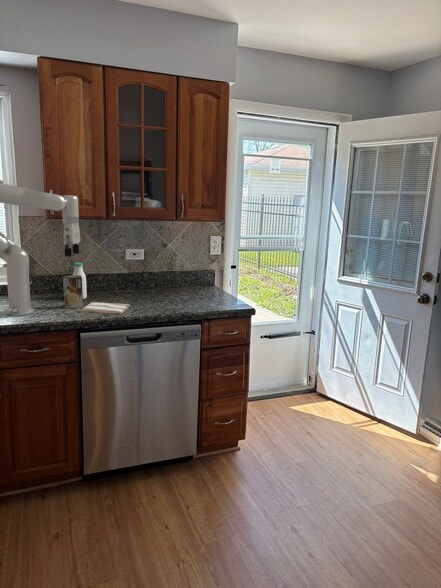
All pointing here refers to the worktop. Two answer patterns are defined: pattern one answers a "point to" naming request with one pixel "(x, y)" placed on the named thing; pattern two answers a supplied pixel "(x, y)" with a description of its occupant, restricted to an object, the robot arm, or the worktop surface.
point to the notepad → (105, 308)
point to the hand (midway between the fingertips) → (72, 254)
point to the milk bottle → (78, 271)
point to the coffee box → (73, 291)
